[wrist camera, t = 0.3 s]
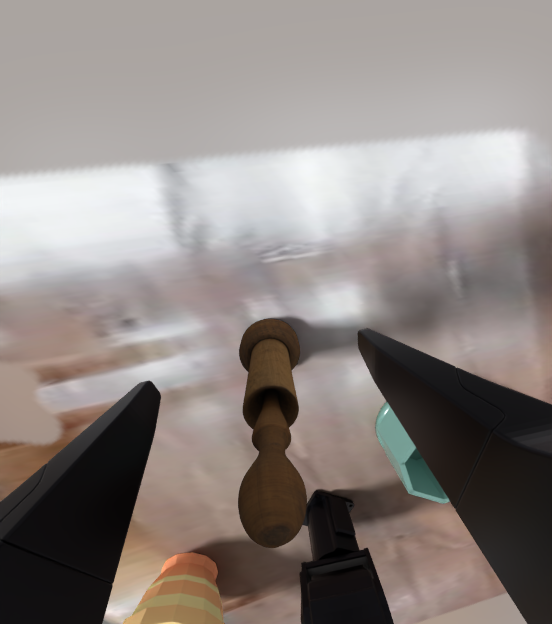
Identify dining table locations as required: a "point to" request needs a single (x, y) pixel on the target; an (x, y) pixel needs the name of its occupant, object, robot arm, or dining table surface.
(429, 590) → the dining table surface
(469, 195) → the dining table surface
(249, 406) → the brown wooden upright piece
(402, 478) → the bowl
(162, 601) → the potted cactus
